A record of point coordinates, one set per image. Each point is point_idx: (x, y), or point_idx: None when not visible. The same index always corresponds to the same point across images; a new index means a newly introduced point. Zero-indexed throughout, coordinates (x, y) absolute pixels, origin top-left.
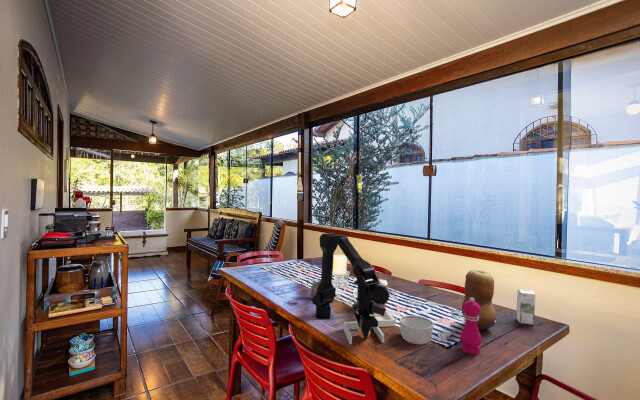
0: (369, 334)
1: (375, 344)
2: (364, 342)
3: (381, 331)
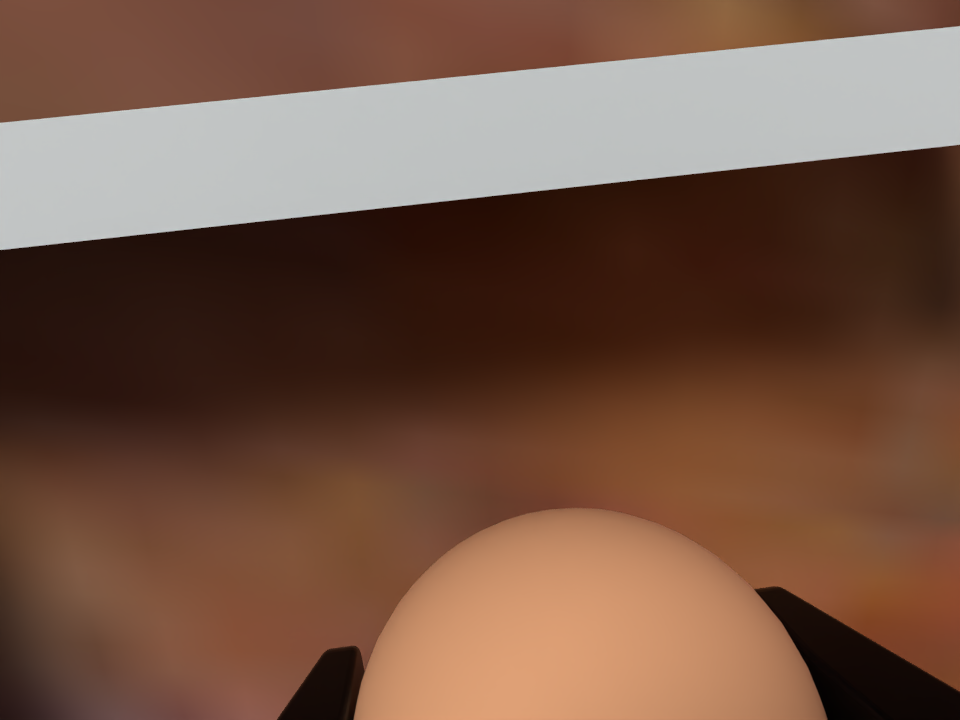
0: (721, 560)
1: (955, 336)
2: None
3: (760, 46)
